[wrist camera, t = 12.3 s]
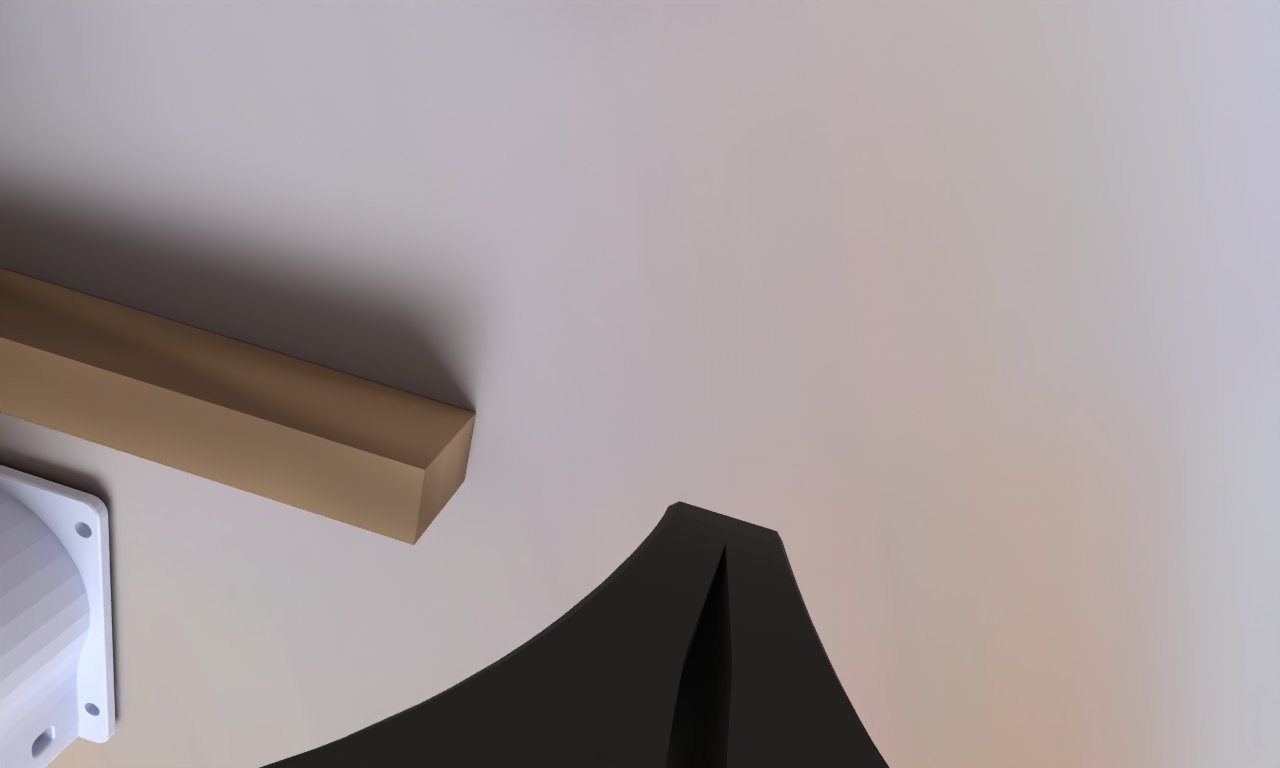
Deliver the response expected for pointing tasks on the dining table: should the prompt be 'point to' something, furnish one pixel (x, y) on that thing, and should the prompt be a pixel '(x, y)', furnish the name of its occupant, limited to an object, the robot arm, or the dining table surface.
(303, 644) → the dining table surface
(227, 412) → the walnut tunnel rails
